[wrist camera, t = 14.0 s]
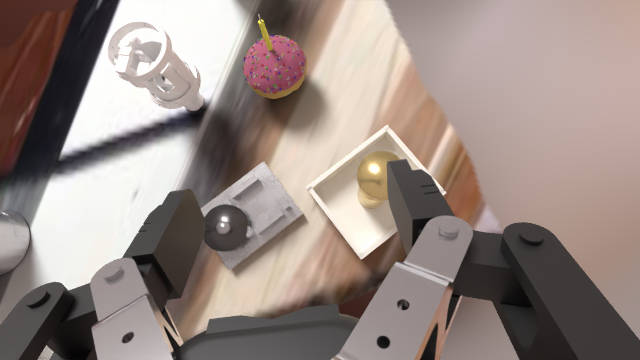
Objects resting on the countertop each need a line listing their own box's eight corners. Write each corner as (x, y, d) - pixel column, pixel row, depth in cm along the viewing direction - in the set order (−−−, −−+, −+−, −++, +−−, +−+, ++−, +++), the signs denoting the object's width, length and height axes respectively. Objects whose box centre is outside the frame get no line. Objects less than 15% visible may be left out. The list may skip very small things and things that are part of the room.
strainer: (165, 120, 48) (86, 67, 33) (176, 77, 49) (105, 7, 35) (211, 126, 47) (150, 74, 33) (221, 81, 49) (167, 12, 34)
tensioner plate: (232, 269, 43) (222, 271, 40) (196, 215, 45) (184, 213, 42) (303, 214, 44) (300, 211, 41) (265, 163, 46) (259, 157, 42)
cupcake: (249, 62, 49) (219, 5, 37) (304, 50, 48) (292, -11, 37) (257, 115, 47) (228, 73, 35) (315, 103, 47) (305, 57, 35)
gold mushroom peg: (368, 219, 42) (378, 209, 30) (346, 191, 43) (347, 170, 30) (396, 198, 43) (417, 179, 30) (373, 171, 43) (385, 141, 31)
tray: (359, 258, 42) (361, 259, 39) (308, 191, 44) (305, 187, 41) (438, 196, 43) (446, 192, 40) (383, 133, 45) (387, 124, 42)
